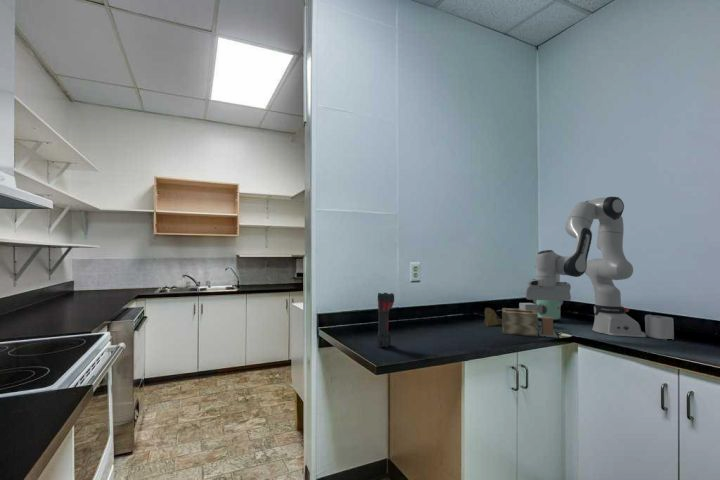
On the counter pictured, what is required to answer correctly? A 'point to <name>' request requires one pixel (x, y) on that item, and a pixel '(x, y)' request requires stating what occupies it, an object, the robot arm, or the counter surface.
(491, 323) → the rock
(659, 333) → the toilet tissue
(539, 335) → the mat
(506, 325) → the crate
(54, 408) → the counter surface
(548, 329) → the block
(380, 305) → the flashlight
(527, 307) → the supplement box
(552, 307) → the juicer
